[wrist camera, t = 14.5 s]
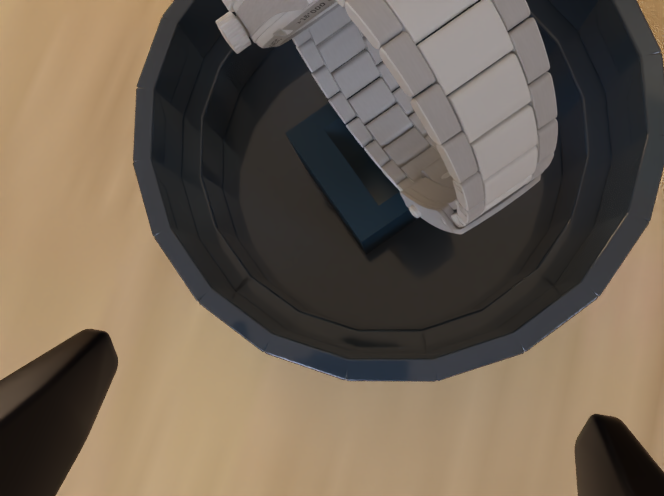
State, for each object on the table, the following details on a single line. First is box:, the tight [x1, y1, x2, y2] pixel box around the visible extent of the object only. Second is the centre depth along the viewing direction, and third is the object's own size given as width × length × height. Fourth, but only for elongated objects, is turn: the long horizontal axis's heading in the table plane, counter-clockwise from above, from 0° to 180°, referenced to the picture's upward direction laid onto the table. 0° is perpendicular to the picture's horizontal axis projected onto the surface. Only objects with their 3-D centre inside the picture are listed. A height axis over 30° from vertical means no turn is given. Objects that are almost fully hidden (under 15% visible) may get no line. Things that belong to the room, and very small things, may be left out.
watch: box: [216, 0, 558, 254], centre depth 13 cm, size 6×8×11 cm
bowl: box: [133, 0, 664, 382], centre depth 16 cm, size 15×15×5 cm
